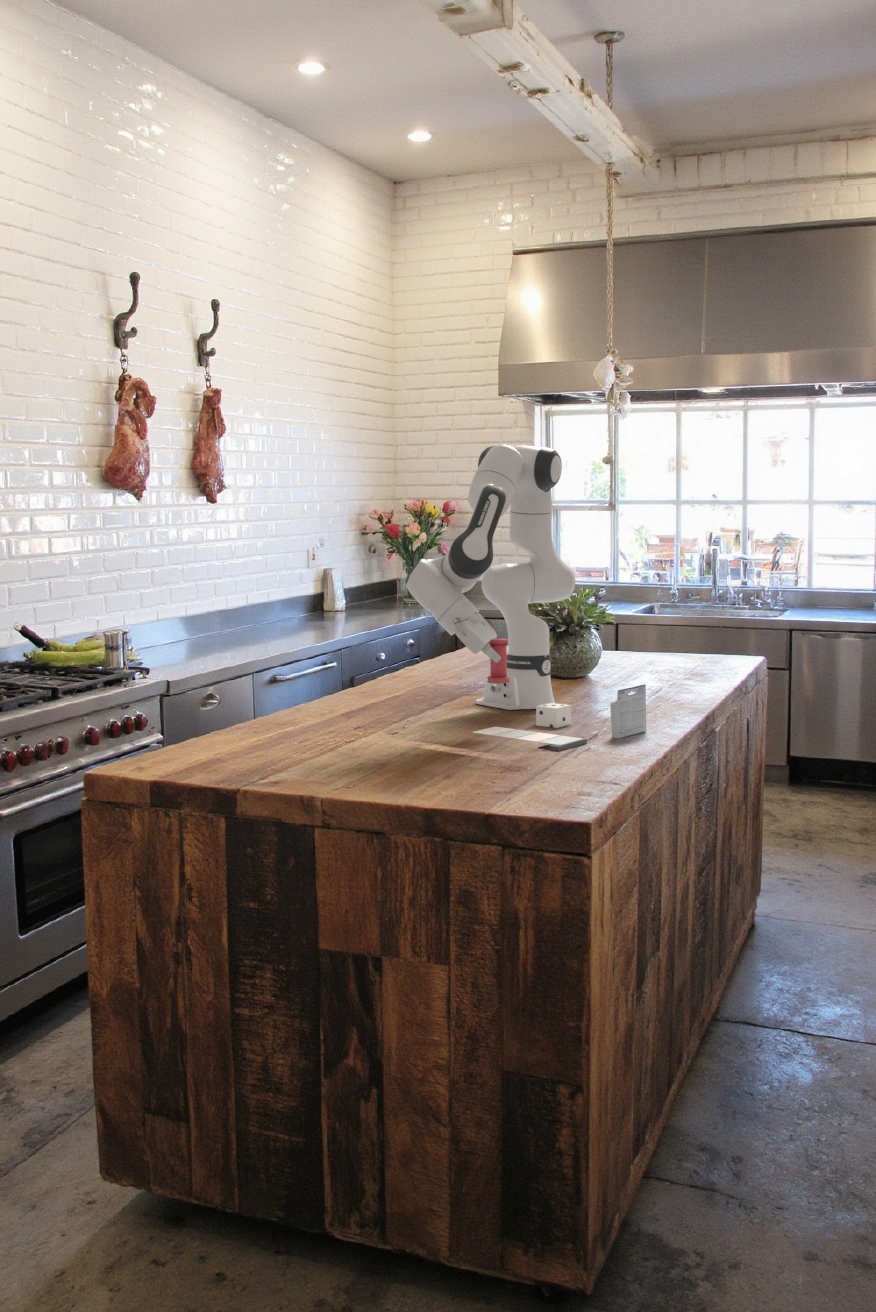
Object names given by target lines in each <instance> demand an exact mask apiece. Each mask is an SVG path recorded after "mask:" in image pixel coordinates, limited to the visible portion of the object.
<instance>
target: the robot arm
mask: <svg viewBox="0 0 876 1312" xmlns="http://www.w3.org/2000/svg"><path fill="white" fill-rule="evenodd" d="M562 463H563V462H562V459H561V456H560V455H559V453H558V452H557V450H555V449H553V448H550V447H546V446H543V447H539V446H534V445H527V444H520V445H508V444H497V445H490V446H487V447H486V448H485V449H484V450H483V451H481V453H480V455H479V458H478V461H477V469H476V471H475V474H474V476H473V478H472V481H471V483H470V487H469V491H468V496H467V501H468V504H469V506H470V508H471V509H472V510H473V512H472V515H471V518H470V519H469V520H470V521H469V523H468V526H467V528H466V529H465V530H464V531H463V532H462V533H461V534H460V535H458V536H457V537H456V538H455V539H454V541H453V542H452V544H451V546H450V548H449V550H448V551H447V553H446V554H444V555H442V556H439V557H435V558H429V559H428V558H426V559H425V558H421V559H418V561H417V562H416V563H415V564H414V565H413V567H412V568H411V569H410V571H409V572H408V574H407V576H406V577H405V583H404V585H405V587H406V589H407V591H408V592H409V593H410V594H411V596H412V597H413V598H414V600H415V601H417V603H418V604H419V605H420V606H421V607H422V608H423V609H424V610H426V611H427V612H429V613H430V614H432V616H433V617H434V619H435V621H436V622H437V623H438V624H439V625H440V626H441V627H442V628H443V629H444V630H445V631H446V632H447V633H448V634H449V635H450V636H453V635H456V636H457V638H458V639H459V640H460V641H461V643H463V644H464V645H465V647H466V648H467V649H468V650H470V651H471V653H472V654H474V655H477V654H479V653H481V652H482V653H483V654H484V655H485V656H487V657H488V658H489V659H490V658H491V659H492V660H493V661H494V662H496V663H498V662H499V661H500V660H501V659H502V656H501V655H500V654H499V653H498V652H496V651H495V650H494V649H493V648H492V647H491V646H490V643H489V642H490V641H491V640H492V639H496V638H498V634H497V632H496V630H495V629H494V628H493V627H492V625H491V624H490V623H489V622H488V621H487V620H486V619H485V618H484V616H483V615H481V613H479V612H480V609H479V608H478V607H477V605H475V604H473V603H472V601H471V600H470V599H468V598H467V597H466V596H465V594H464V593H466V592H468V591H470V590H472V588H473V587H474V586H475V585H476V583H477V582H478V581H479V580H480V578H481V577H482V579H481V590H482V594H483V595H484V597H485V598H486V599H487V600H488V601H489V602H490V603H491V604H492V605H494V606H495V607H496V608H497V609H498V610H499V611H500V613H501V614H502V616H503V618H504V621H505V623H506V629H507V639H508V654H507V676H510V682H509V683H488V680H487V681H486V682H485V685H484V689H483V696H482V697H479V698H477V699H476V700H475V704H476V705H482V706H486V707H492V708H497V709H503V710H509V711H512V710H514V711H516V710H536V706H539V705H543V704H548V703H556V701H555V699H554V694H553V693H554V692H553V688H552V682H551V681H552V680H551V671H552V655H551V653H550V627H549V626H548V624H547V622H546V621H545V620H543V618H540V617H538V616H537V615H534V614H532V613H531V612H530V609H529V605H530V604H541V603H542V604H543V603H544V604H547V603H550V604H551V603H556V602H560V601H565V600H567V599H569V598H570V597H571V596H572V595H573V593H574V591H575V588H576V576H575V574H574V571H573V569H572V568H571V566H569V565H568V564H567V563H565V562H564V561H563V559H561V557H560V556H559V554H558V553H557V551H556V549H555V547H554V546H555V545H554V543H553V533H552V532H553V531H552V521H553V519H552V514H553V501H552V498H553V497H552V488H554V487H555V486H556V485H557V484H558V482H559V481H560V478H561V475H562V470H563V469H562V467H563V466H562V465H563V464H562ZM509 507H510V510H509V511H510V512H509V538H510V539H509V540H510V541H511V543H512V544H513V546H515V547H517V548H518V549H520V550H522V551H525V552H526V553H528V554H529V562H506V563H501V564H496V565H492V564H493V563H492V562H493V560H494V547H493V538H494V535H495V532H496V529H497V526H498V524H499V521H500V518H501V517H503V516H504V515H505V514H506V511H507V510H508V509H509Z"/></svg>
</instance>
